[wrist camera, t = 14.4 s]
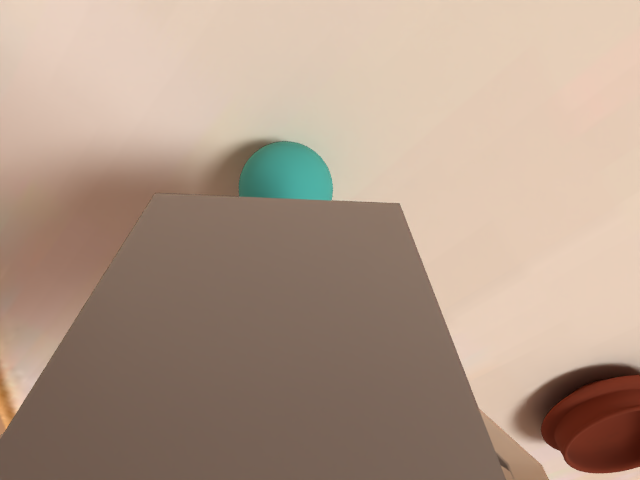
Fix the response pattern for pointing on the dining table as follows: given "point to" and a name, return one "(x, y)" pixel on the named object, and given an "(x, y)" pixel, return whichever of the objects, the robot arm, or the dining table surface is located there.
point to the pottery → (598, 426)
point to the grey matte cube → (256, 355)
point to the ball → (286, 173)
